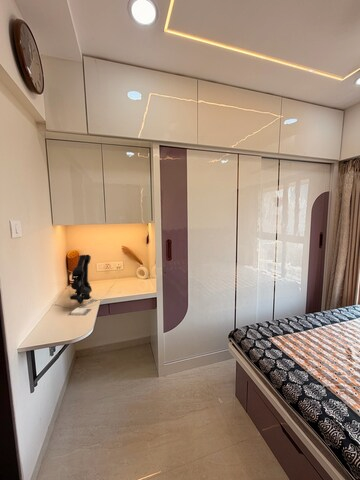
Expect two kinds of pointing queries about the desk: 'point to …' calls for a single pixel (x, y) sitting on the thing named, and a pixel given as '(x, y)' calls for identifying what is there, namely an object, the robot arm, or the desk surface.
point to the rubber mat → (84, 313)
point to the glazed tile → (79, 311)
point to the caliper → (87, 303)
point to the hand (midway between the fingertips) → (81, 303)
